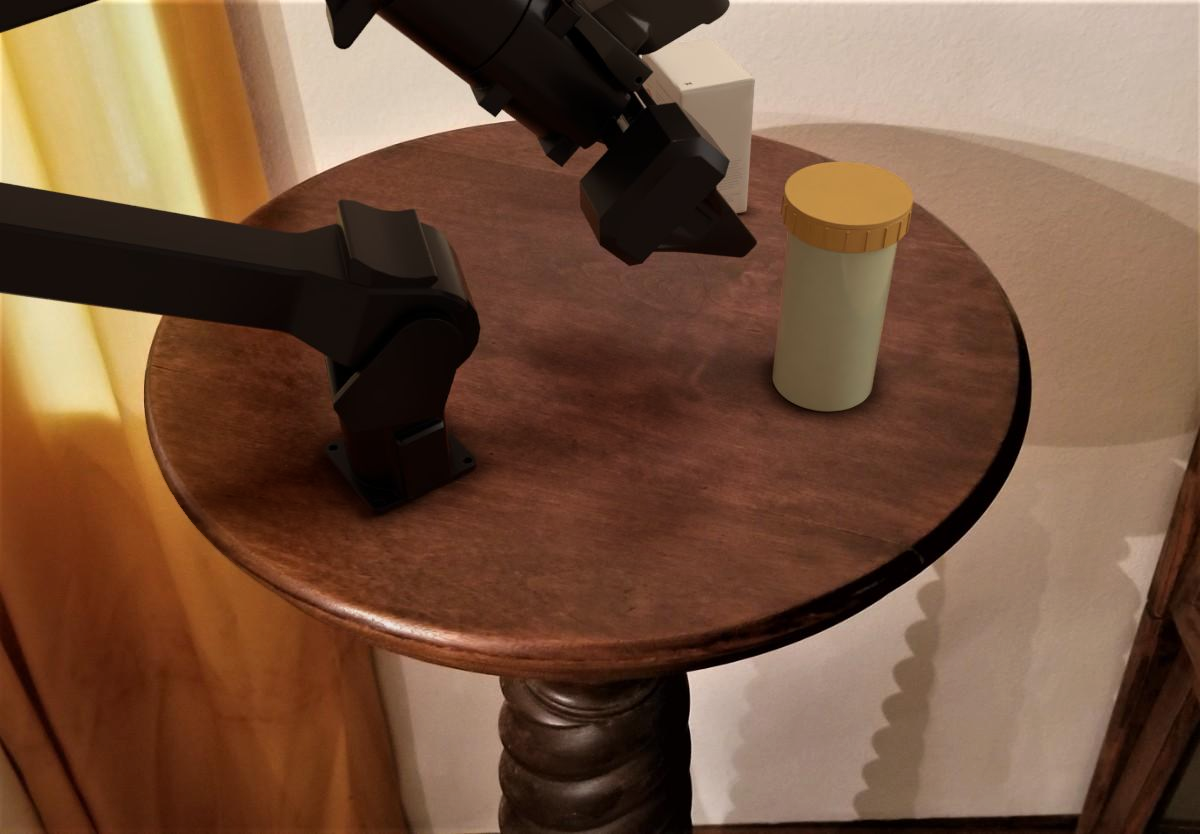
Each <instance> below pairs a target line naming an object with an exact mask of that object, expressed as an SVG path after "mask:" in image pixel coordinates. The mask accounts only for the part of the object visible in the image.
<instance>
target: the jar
mask: <svg viewBox="0 0 1200 834" xmlns="http://www.w3.org/2000/svg"><path fill="white" fill-rule="evenodd" d="M898 245H899V241H898V242H896V243H895V244H893V245H891V246H889V247H886V248H883V249H880V250H876V251H871V252H862V253H844V252H835V251H830V250H825V249H821V248H818V247H815V246H812V245H810V244H807V243H805V242H803V241H801V240H800V239H798V238H797V237H795V236H794V235H793V234H791V233H790V232H789V230H788V229H787V231H786V241H785V248H784V249H785V250H784V258H783V259H784V260H783V267H782V268H783V269H782V277H781V278H782V279H781V287H780V288H781V289H780V299H779V307H778V308H779V309H778V317H777V327H776V335H775V346H774V355H773V366H772V374H771V375H772V383H773V385H774V387H775V389H776V390H777V392H778V393H779V394H780V395H781V396H782V397H783V398H784V399H785V400H787V401H789V402H790V403H792V404H794V405H796V406H799V407H801V408H804V409H806V410H812V411H816V412H827V413H828V412H840V411H846V410H849V409H852V408H854V407H856V406H859V405H860V404H862V403H863V402H864V401H865V400H867V398H868V397H869V396H870V394H871V393H872V390H873V385H874V379H875V374H876V369H877V363H878V357H879V353H880V347H881V340H882V336H883V335H882V334H883V328H884V323H885V318H886V312H887V308H888V307H887V306H888V301H889V296H890V290H891V284H892V278H893V273H894V267H895V262H896V256H897V250H898Z"/></svg>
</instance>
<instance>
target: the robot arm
mask: <svg viewBox="0 0 1200 834" xmlns="http://www.w3.org/2000/svg"><path fill="white" fill-rule="evenodd" d="M324 1H325V15H326V18H327V22H328V27H329V31H330V34H331V38H332V42H333V44H334V46H335V47H336V48H337V49H340V50H348V49H349V48H351V47H352V45H353V44H354V42H356V40H357V39H358V38H359V36H360V35H361V33H362V32H363V31H364V30H365V29H366V27H367V26H368V24H369V23H370V22H371V21H372V19H373V18H374V17H375V15H376V16H378V17H379V18H380V19H382V21H384V22H386V23H387V24H388V25H389V26H391V27H392V28H394V29H395V30H396V31H397V32H399V33H400V34H401V35H402V36H404V37H405V38H407V39H408V40H409V41H411V43H413V44H414V45H416V46H417V47H419V49H421V50H422V51H424V52H425V53H427V54H428V55H429V56H431V57H432V58H433V59H434V60H436V61H437V62H439V63H440V64H441V65H443V66H444V68H446V69H447V70H448V71H450V72H452V73H453V74H454V75H456V76H457V77H458V78H460V79H461V80H462V81H464V82H465V83H466V84H468V85H469V88H470V90H471V92H472V94H473V96H474V100H475V101H476V104H477V105H478V106H479V107H480V108H482V109H483V110H484V111H486V112H487V113H488V114H490V115H491V116H492V117H494V118H496V117H497V116H498V115H499V114H500V113H501V112H502V111H503V112H504V113H505V114H507V115H508V116H510V117H511V118H512V119H513V120H515V121H516V122H518V123H519V124H520V125H522V126H523V127H524V128H525V129H527V130H528V131H529V132H531V133H532V134H533V135H535V136H536V138H537V140H538V143H539V144H540V146H541V149H542V150H543V153H544V154H545V157H547V158H548V159H550V160H551V161H552V162H553V163H555V164H556V165H558V166H559V167H561V168H563V166H565V165H566V164H567V162H568V161H569V160H570V159H571V158H572V157H573V156H574V155H575V153H576V152H577V151H578V150H579V149H580V148H582V150H587V149H589V148H591V147H592V146H593V145H595V144H597V143H598V144H601V145H604V146H605V147H606V149H607V150H606V151H605V152H604V153H603V155H602V156H600V158H599V159H598V160H597V161H596V162H595V163H594V164H593V165H592V167H590V169H589V170H588V171H587V172H586V173H584V176H582V178H581V179H580V180H579V207H580V210H581V211H582V213H583V215H584V217H585V219H586V221H587V223H588V225H589V227H590V228H591V230H592V233H593V234H594V236H595V238H596V240H597V242H598V244H599V246H600V247H601V248H602V249H604V250H606V251H607V252H609V253H610V254H611V255H613V256H614V257H616V258H617V259H618V260H620V261H621V262H623V263H624V264H625V265H627V266H628V267H634V266H638V265H642V264H644V262H646V260H647V259H648V258H649V257H650V256H651V255H652V254H653V253H684V254H696V255H697V254H698V255H706V256H707V255H708V256H717V257H719V256H720V257H728V258H736V259H737V258H738V259H742V258H745V257H746V256H747V255H749V253H750V252H752V250H753V249H754V248H755V247H756V246H757V244H758V240H757V239H756V238H755V236H754V235H753V234H752V232H751V231H750V229H749V228H748V227H747V226H746V224H745V223H744V222H743V220H742V219H741V218H740V216H739V215H738V213H735V211H734V210H733V209H732V207H731V206H730V205H729V203H728V202H727V201H726V200H725V198H724V197H723V196H722V194H721V193H720V192H719V190H718V189H717V185H718V184H719V183H720V182H721V181H722V180H723V179H724V178H725V176H726V172H727V169H728V166H729V162H730V160H729V159H728V158H727V156H726V155H725V154H724V152H723V151H722V150H721V148H720V147H719V146H718V145H717V143H716V142H715V141H714V139H713V138H712V137H711V135H710V134H709V133H708V132H707V131H706V130H705V129H704V128H703V127H702V126H701V125H700V124H699V123H698V122H697V121H696V120H695V119H694V118H693V117H692V116H691V115H690V114H689V113H688V112H687V111H686V110H685V109H683V108H682V107H681V106H680V105H679V104H678V103H676V102H673V103H666V104H658V105H657V103H656V102H655V101H654V99H653V98H652V97H651V95H650V94H649V93H648V91H647V90H646V89H645V87H644V86H643V85H642V84H643V83H644V82H645V81H646V80H647V79H648V78H649V77H650V76H651V74H652V73H653V70H652V69H651V68H650V66H649V65H648V64H647V63H646V62H645V61H644V60H643V59H642V57H641V56H642V55H647V54H651V53H653V52H655V51H657V50H659V49H661V48H663V47H664V46H666V45H668V44H669V43H674V42H675V41H676V40H678V39H679V38H681V37H683V36H684V35H686V34H688V33H689V32H691V31H693V30H694V29H696V28H698V27H699V26H701V25H711V24H712V23H714V22H716V21H717V20H719V19H720V18H721V17H723V16H724V15H725V14H726V12H727V11H728V10H729V8H730V6H731V5H730V4H731V3H730V0H324ZM96 2H100V0H0V34H2V33H5V32H8V31H11V30H14V29H17V28H21V27H24V26H27V25H30V24H33V23H35V22H39V21H41V20H45V19H47V18H51V17H54V16H57V15H60V14H63V13H66V12H69V11H72V10H75V9H78V8H81V7H84V6H87V5H90V4H93V3H96ZM336 206H337V207H336V221H335V223H333V224H329V225H324V226H322V227H317V228H314V229H309V230H306V231H301V232H289V231H283V230H277V229H272V228H265V227H259V226H254V225H249V224H243V223H238V222H233V221H232V222H231V221H226V220H219V219H214V218H208V217H204V216H203V217H202V216H198V215H197V216H196V215H191V214H186V213H185V214H184V213H180V212H174V211H167V210H164V209H163V210H162V209H156V208H151V207H146V206H145V207H144V206H139V205H134V204H133V205H132V204H128V203H122V202H118V201H117V202H116V201H112V200H111V201H110V200H105V199H99V198H94V197H88V196H83V195H77V194H72V193H71V194H70V193H65V192H59V191H53V190H47V189H43V188H36V187H32V186H31V187H30V186H24V185H20V184H13V183H7V182H1V181H0V294H2V295H3V294H4V295H10V296H19V297H25V298H31V299H32V298H33V299H41V300H47V301H55V302H62V303H68V304H69V303H70V304H75V305H83V306H91V307H99V308H103V309H104V308H105V309H111V310H119V311H125V312H126V311H127V312H134V313H143V314H148V315H156V316H162V317H163V316H164V317H171V318H178V319H185V320H193V321H201V322H207V323H215V324H222V325H230V326H237V327H242V328H243V327H244V328H251V329H257V330H258V329H259V330H266V331H273V332H279V333H283V334H287V335H288V336H289V335H290V336H293V337H294V338H296V339H297V340H299V341H301V342H302V343H304V344H306V345H307V346H308V347H310V348H312V349H314V350H316V351H317V352H319V353H321V354H322V355H323V356H324V363H325V368H326V374H327V380H328V385H329V392H330V397H331V402H332V408H333V410H334V412H335V413H336V415H337V416H338V422H339V425H340V430H341V431H340V432H341V435H342V437H340V438H338V439H336V440H333V441H331V442H329V443H327V444H326V445H325V446H324V454H325V457H326V459H328V460H329V462H330V463H331V465H333V467H334V468H335V469H336V471H338V473H339V474H340V475H341V477H342V478H343V479H344V480H345V482H346V483H347V484H348V485H349V486H350V488H351V489H352V490H353V491H354V493H355V494H356V495H357V496H358V497H359V499H360V500H361V501H362V502H363V504H364V505H365V506H366V507H367V508H368V510H369V511H370V512H371V513H372V514H373V515H376V516H382V515H384V514H387V513H389V512H391V511H393V510H396V509H397V508H400V507H402V506H403V505H405V504H408V503H409V502H411V501H414V500H416V499H417V498H419V497H422V496H424V495H426V494H428V493H430V492H432V491H435V490H436V489H438V488H440V487H443V486H444V485H447V484H449V483H451V482H453V481H456V480H457V479H460V478H461V477H463V476H465V475H467V474H469V473H471V472H473V471H475V470H476V469H477V467H478V462H477V458H476V456H475V455H474V454H473V453H472V452H471V451H470V450H469V449H468V448H467V447H466V446H465V445H464V444H463V443H462V442H461V441H460V440H459V439H458V437H456V435H455V434H453V433H452V431H450V429H449V427H448V420H447V419H448V418H447V411H446V406H447V402H448V399H449V396H450V392H451V389H452V386H453V383H454V380H455V377H456V373H457V370H458V369H459V368H460V367H461V366H462V365H463V364H464V363H465V362H466V361H467V360H468V359H469V358H471V356H472V354H473V352H474V351H475V349H476V347H477V346H478V343H479V340H480V333H481V323H480V320H479V315H478V311H477V308H476V305H475V303H474V300H473V297H472V294H471V290H470V288H469V286H468V283H467V280H466V276H465V274H464V272H463V269H462V266H461V263H460V261H459V258H458V255H457V252H456V250H455V248H454V247H453V246H452V244H451V243H450V241H449V239H448V238H447V237H446V236H445V234H444V233H443V232H442V231H441V230H439V229H437V228H436V227H435V226H433V225H430V224H427V223H424V222H421V221H420V219H419V218H420V217H419V215H418V212H417V209H415V208H408V209H402V210H388V209H381V208H378V207H373V206H370V205H368V204H366V203H362V202H360V201H357V200H354V199H339V200H338V202H337V204H336Z"/></svg>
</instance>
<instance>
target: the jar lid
mask: <svg viewBox="0 0 1200 834" xmlns="http://www.w3.org/2000/svg"><path fill="white" fill-rule="evenodd" d="M913 208H914V194H913V191H912V189H911V187H910V186H909V184H908V183H907V182H906V181H905V180H903V178H901V177H900V176H898V175H897V174H895V173H893V172H891V171H889V170H887V169H884V168H881V167H878V166H874V165H871V164H867V163H861V162H854V161H829V162H820V163H815V164H813V165H808V166H806V167H803V168H801V169H799V170H797V171H795V172H793V174H792V175H790V177H788V179H787V180H786V182H785V185H784V192H783V193H782V197H781V206H780V215H781V220H782V224H783V226H784V227H785V228H786V229H787V230H789V232H790V233H791V234H793V235H794V236H795V237H797V238H798V239H800V240H801V241H803V242H805V243H807V244H810V245H812V246H815V247H818V248H821V249H825V250H830V251H835V252H844V253H862V252H871V251H876V250H880V249H883V248H886V247H889V246H891V245H893V244H895V243H896V242H898V243H899V242H900V241H901V240H902V239H903V237H904V236H905V235H906V233H908V232H909V228H910V223H911V219H912V218H911V217H912V214H913Z"/></svg>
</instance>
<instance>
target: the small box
mask: <svg viewBox="0 0 1200 834" xmlns="http://www.w3.org/2000/svg"><path fill="white" fill-rule="evenodd" d="M641 59H643V60H644V61H645V62H646V63H647V64H648V65H649V66H650V68H651V69H652V70H653V73H652V74H651V76H650V77H649V78H648V79H647V80H646V81H645V82H644V83H643V84H642V85H643V86H644V87H645V89H646V90H647V91H648V93H649V94H650V95H651V97H652V98H653V99H654V101H655V102H656V103H657V105H658V104H666V103H673V102H676V103H678V104H679V105H680V106H681V107H682V108H683V109H685V110H686V111H687V112H688V113H689V114H690V115H691V116H692V117H693V118H694V119H695V120H696V121H697V122H698V123H699V124H700V125H701V126H702V127H703V128H704V129H705V130H706V131H707V132H708V133H709V134H710V135H711V137H712V138H713V139H714V141H715V142H716V143H717V145H718V146H719V147H720V148H721V150H722V151H723V152H724V154H725V155H726V156H727V158H728V159H729V160H730V162H729V166H728V169H727V172H726V176H725V178H724V179H723V180H722V181H721V182H720V183H719V184H718V185H717V189H718V190H719V192H720V193H721V194H722V196H723V197H724V198H725V200H726V201H727V202H728V203H729V205H730V206H731V207H732V209H733V210H734V211H735V213H736V214H740V213H745V212H747V210H748V209H747V208H748V196H749V195H748V194H749V181H750V165H751V148H752V134H753V133H752V131H753V115H754V99H755V87H756V86H755V85H756V78H755V77H754V76H753V75H752V74H751V73H750V72H749V71H748V70H746V69H745V67H744V66H743V65H741V64H740V63H739V62H738V61H737V60H736V59H735V58H734V57H733V56H732V55H731V54H730V53H729V52H728V51H727V50H726V49H725V48H724V47H723V46H721V44H719V43H718V42H717V41H716V40H715V39H714V38H713V37H712V36H711V37H701V38H695V39H688V40H683V41H673V42H671V43H669V44H668V45H666V46H664V47H663V48H661V49H659V50H657V51H655V52H653V53H651V54H647V55H641Z"/></svg>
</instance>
